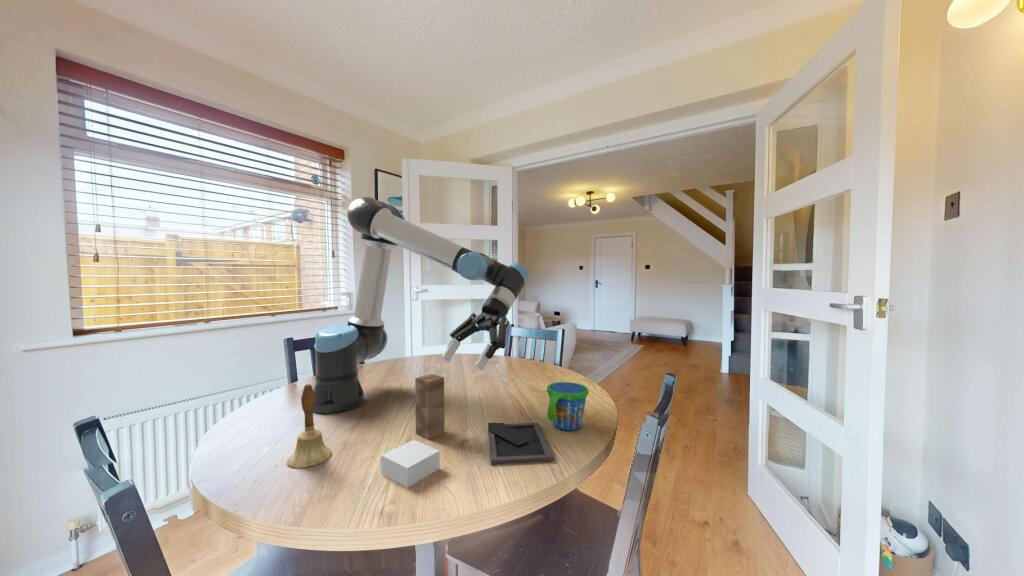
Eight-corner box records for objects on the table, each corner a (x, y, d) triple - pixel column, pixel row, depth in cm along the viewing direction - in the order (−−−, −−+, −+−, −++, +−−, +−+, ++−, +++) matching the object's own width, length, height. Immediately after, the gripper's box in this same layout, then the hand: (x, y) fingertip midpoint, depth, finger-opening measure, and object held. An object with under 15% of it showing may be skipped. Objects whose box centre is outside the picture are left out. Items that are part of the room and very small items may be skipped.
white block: (381, 475, 69) (381, 455, 68) (413, 458, 75) (413, 439, 75) (407, 489, 64) (407, 468, 64) (439, 470, 71) (439, 450, 70)
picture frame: (487, 430, 90) (490, 468, 72) (487, 422, 90) (490, 458, 72) (538, 428, 91) (553, 464, 73) (538, 420, 91) (553, 455, 73)
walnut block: (415, 433, 86) (415, 378, 86) (432, 427, 90) (431, 373, 90) (427, 439, 83) (427, 381, 83) (444, 432, 87) (444, 377, 87)
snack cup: (568, 412, 100) (569, 377, 100) (600, 423, 93) (601, 385, 93) (532, 428, 90) (532, 389, 89) (565, 442, 82) (565, 399, 82)
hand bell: (323, 466, 71) (322, 389, 71) (279, 470, 70) (277, 392, 69) (337, 447, 79) (336, 378, 79) (297, 450, 78) (296, 380, 78)
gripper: (536, 315, 99) (502, 379, 88) (475, 310, 115) (439, 363, 104) (525, 297, 95) (488, 362, 84) (463, 295, 111) (425, 349, 100)
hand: (461, 363), depth 94 cm, fingers open, 13 cm apart
